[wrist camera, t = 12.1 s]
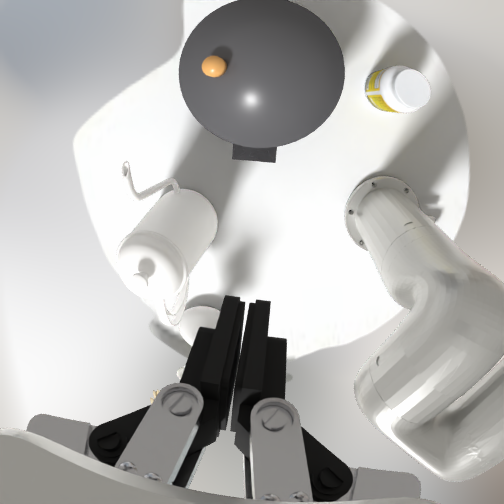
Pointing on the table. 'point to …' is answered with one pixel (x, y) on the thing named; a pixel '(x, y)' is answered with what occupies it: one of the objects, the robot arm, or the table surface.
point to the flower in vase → (194, 327)
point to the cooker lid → (261, 72)
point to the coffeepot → (166, 245)
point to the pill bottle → (397, 89)
